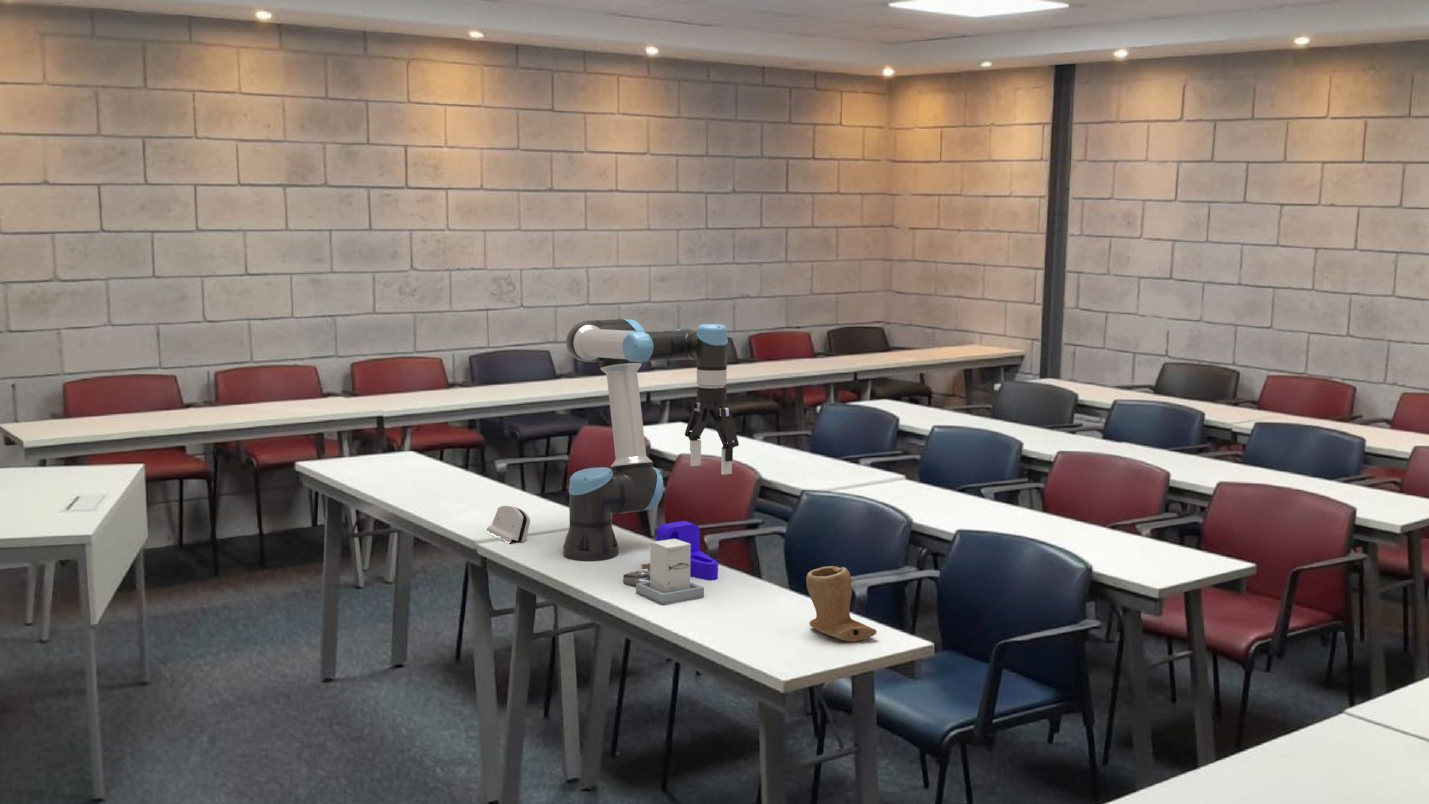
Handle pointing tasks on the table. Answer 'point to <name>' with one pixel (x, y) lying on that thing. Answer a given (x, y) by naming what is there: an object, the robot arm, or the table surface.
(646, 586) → the tray
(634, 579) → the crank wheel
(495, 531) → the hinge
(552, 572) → the table surface
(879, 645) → the table surface
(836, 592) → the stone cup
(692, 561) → the bracket
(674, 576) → the supplement box
